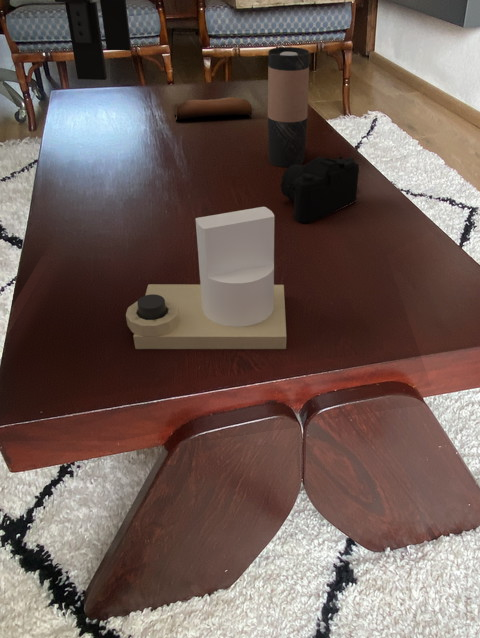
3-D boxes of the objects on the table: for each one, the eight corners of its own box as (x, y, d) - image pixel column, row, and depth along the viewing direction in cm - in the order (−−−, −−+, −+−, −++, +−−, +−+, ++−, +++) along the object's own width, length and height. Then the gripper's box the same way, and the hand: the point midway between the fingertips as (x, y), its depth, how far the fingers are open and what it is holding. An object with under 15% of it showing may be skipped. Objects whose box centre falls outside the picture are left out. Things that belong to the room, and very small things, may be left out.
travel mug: (312, 159, 124) (317, 50, 111) (292, 170, 119) (296, 57, 106) (280, 152, 127) (282, 45, 115) (260, 162, 122) (259, 52, 109)
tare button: (137, 321, 72) (135, 308, 71) (141, 306, 74) (139, 294, 73) (164, 321, 72) (162, 308, 71) (167, 306, 74) (166, 294, 73)
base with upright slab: (216, 333, 72) (210, 240, 65) (192, 296, 78) (185, 208, 71) (285, 317, 75) (287, 226, 67) (257, 282, 81) (256, 196, 74)
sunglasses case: (244, 106, 151) (247, 85, 144) (250, 129, 148) (253, 108, 142) (172, 110, 147) (171, 89, 141) (176, 134, 145) (176, 112, 138)
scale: (126, 349, 72) (122, 325, 70) (142, 296, 82) (138, 273, 80) (286, 349, 73) (286, 325, 71) (283, 296, 82) (284, 274, 80)
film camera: (322, 186, 113) (325, 137, 107) (362, 202, 107) (368, 151, 102) (262, 209, 104) (262, 157, 99) (303, 228, 99) (306, 173, 93)
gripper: (77, -229, 42) (119, 95, 56) (137, -193, 62) (158, 40, 75) (-32, -234, 42) (36, 92, 56) (63, -196, 62) (97, 39, 75)
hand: (106, 63), depth 65 cm, fingers open, 13 cm apart
